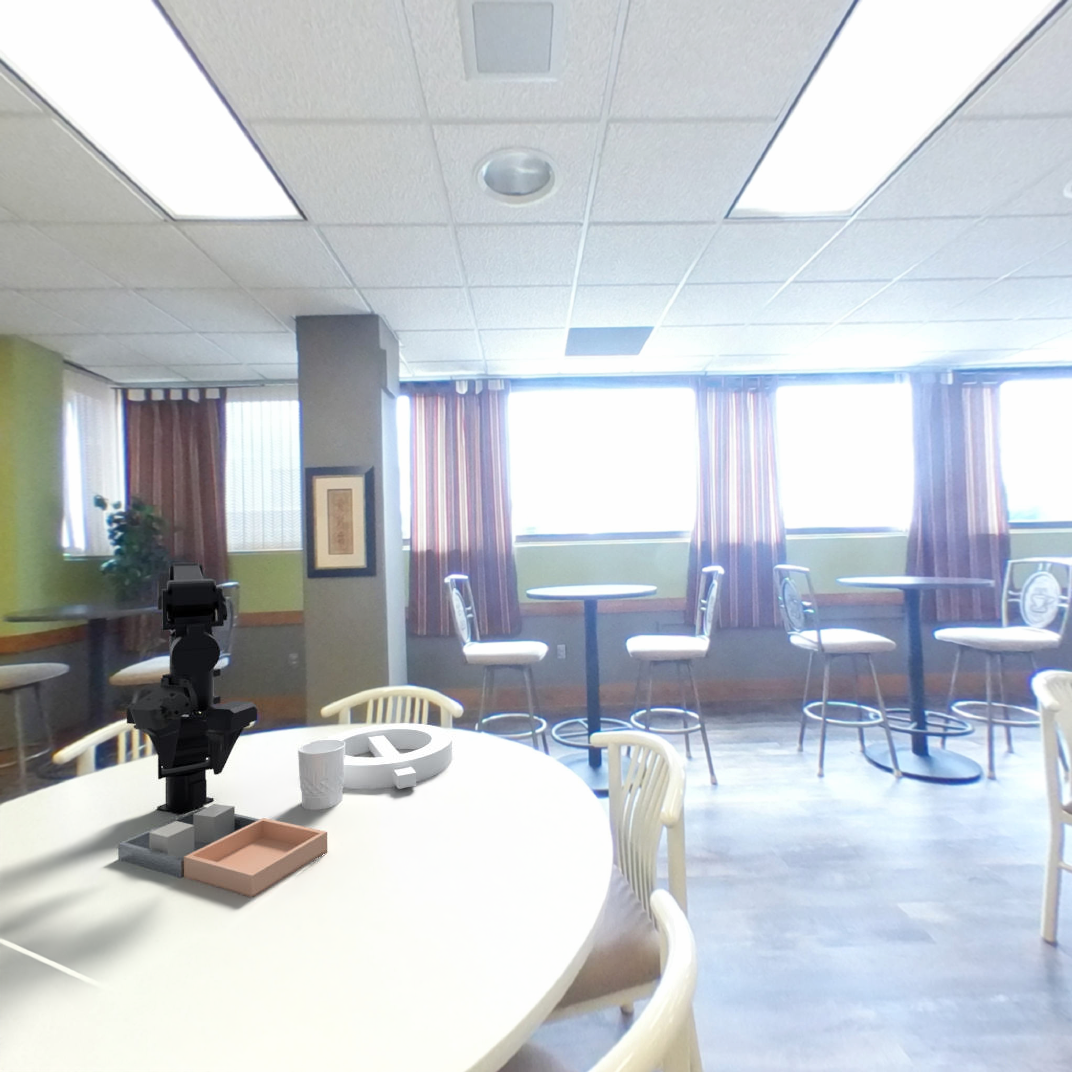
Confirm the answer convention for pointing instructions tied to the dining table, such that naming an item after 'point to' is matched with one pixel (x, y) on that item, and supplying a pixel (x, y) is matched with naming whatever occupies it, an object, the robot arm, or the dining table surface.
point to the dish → (255, 856)
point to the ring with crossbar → (394, 755)
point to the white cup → (321, 773)
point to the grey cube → (214, 823)
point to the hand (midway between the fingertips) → (192, 771)
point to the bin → (142, 856)
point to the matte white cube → (173, 839)
